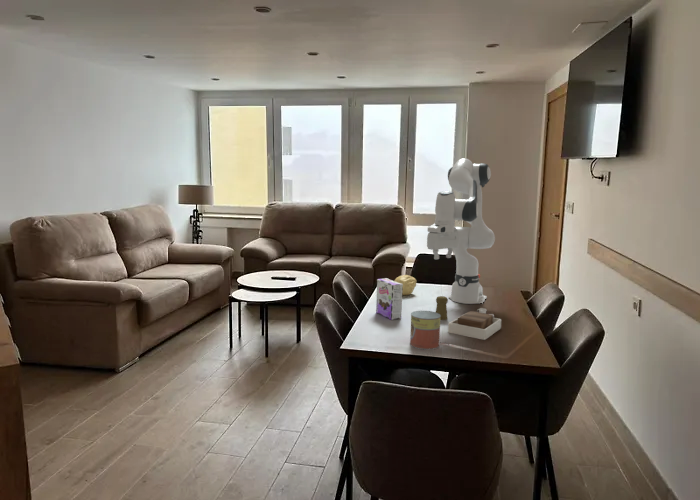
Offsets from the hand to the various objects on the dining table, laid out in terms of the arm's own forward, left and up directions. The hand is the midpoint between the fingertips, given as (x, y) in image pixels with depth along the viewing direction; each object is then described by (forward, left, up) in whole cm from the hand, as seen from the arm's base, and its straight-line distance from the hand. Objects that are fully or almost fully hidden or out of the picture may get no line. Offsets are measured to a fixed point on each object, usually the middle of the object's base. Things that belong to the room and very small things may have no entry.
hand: (442, 258), depth 225 cm
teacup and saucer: (-15, +16, -29) cm, 36 cm away
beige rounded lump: (-34, -37, -28) cm, 57 cm away
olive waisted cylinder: (+1, +1, -28) cm, 28 cm away
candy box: (+10, -21, -28) cm, 37 cm away
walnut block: (+9, +20, -27) cm, 35 cm away
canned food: (+36, +10, -28) cm, 47 cm away
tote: (+9, +20, -28) cm, 36 cm away
